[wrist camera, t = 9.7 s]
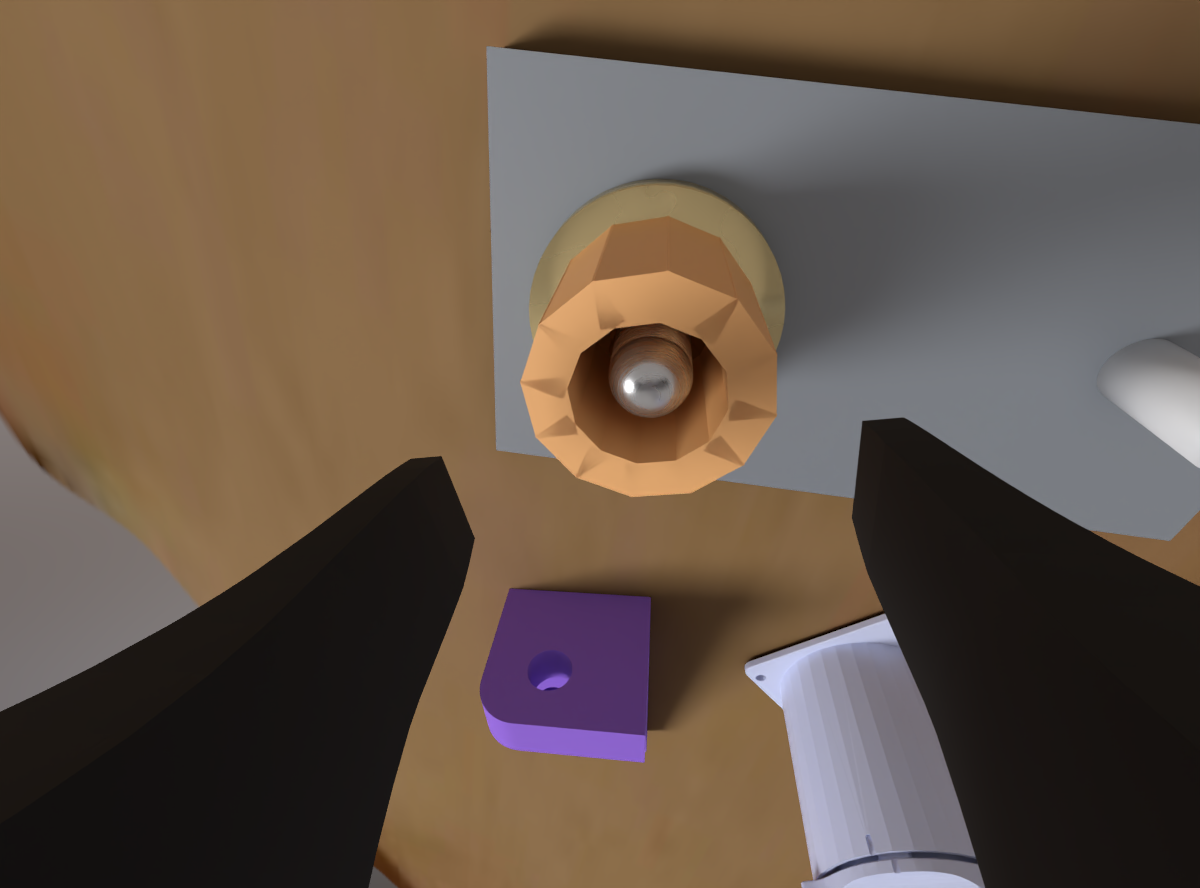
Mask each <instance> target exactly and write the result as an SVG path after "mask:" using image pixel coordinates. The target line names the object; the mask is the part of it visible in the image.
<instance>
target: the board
mask: <svg viewBox="0 0 1200 888" xmlns="http://www.w3.org/2000/svg"><path fill="white" fill-rule="evenodd" d="M487 85H488V126H489V168H490V209H491V250H492V291H493V332H494V373H495V414H496V450H499V451H507V452H514V453H521V454H529V455H536V456H544V457H551V458H556V457H555V456H554V455H553V454H552V453H551V452H550V451H549V450H548V449H547V448H546V447H545V446H544V445H543V444H542V443H541V442H540V441H539V440H538V439H537V438H536V437H535V433H534V429H533V426H532V422H531V419H530V415H529V412H528V408H527V405H526V401H525V398H524V394H523V390H522V387H521V384H520V380H521V378H522V376H523V372H524V369H525V366H526V363H527V360H528V357H529V354H530V351H531V347H532V344H533V338H532V333H531V327H530V319H529V300H530V291H531V286H532V282H533V277H534V274H535V271H536V269H537V266H538V263H539V261H540V259H541V257H542V255H543V253H544V251H545V249H546V248H547V246H548V244H549V243H550V241H551V240H552V238H553V237H554V235H555V234H556V233H557V231H558V230H559V229H560V227H561V226H562V224H563V223H564V222H565V221H566V220H567V219H568V218H569V217H570V216H571V215H572V214H573V213H574V212H575V211H576V210H577V209H578V208H580V207H581V206H582V205H583V204H585V203H586V202H587V201H589V200H590V199H592V198H593V197H595V196H597V195H599V194H600V193H602V192H604V191H606V190H609V189H611V188H614V187H616V186H619V185H621V184H625V183H629V182H633V181H638V180H646V179H656V178H657V179H676V180H681V181H686V182H691V183H695V184H698V185H700V186H703V187H706V188H709V189H711V190H713V191H715V192H717V193H719V194H721V195H722V196H724V197H726V198H727V199H729V200H730V201H731V202H733V203H734V204H736V205H737V206H738V207H739V208H740V209H741V210H743V211H744V212H745V213H746V214H747V215H748V216H749V217H750V218H751V219H752V221H753V222H754V223H755V225H756V226H757V227H758V229H759V230H760V231H761V233H762V235H763V236H764V238H765V240H766V242H767V244H768V246H769V247H770V249H771V251H772V253H773V255H774V257H775V259H776V262H777V264H778V267H779V270H780V273H781V276H782V281H783V286H784V293H785V317H784V325H783V330H782V334H781V338H780V341H779V344H778V347H777V349H776V352H777V355H778V356H777V417H776V418H775V419H774V421H773V422H772V424H771V425H770V427H769V428H768V430H767V431H766V433H765V434H764V436H763V437H762V439H761V440H760V442H759V443H758V444H757V446H756V447H755V449H754V450H753V452H752V453H751V455H750V456H749V458H748V459H747V461H746V462H745V465H743V466H741V467H739V468H737V469H735V470H733V471H732V472H730V473H728V474H726V475H724V476H722V477H720V478H718V479H717V480H722V481H729V482H737V483H744V484H752V485H759V486H766V487H774V488H781V489H789V490H796V491H804V492H811V493H818V494H826V495H833V496H841V497H848V498H854V494H855V485H856V475H857V466H858V456H859V447H860V438H861V428H862V421H866V420H878V419H890V418H902V417H904V418H906V419H908V420H910V421H911V422H913V423H915V424H916V425H918V426H919V427H921V428H923V429H924V430H926V431H927V432H929V433H930V434H932V435H933V436H935V437H937V438H938V439H940V440H941V441H943V442H944V443H946V444H947V445H949V446H950V447H952V448H953V449H955V450H956V451H958V452H960V453H961V454H963V455H964V456H966V457H967V458H969V459H970V460H972V461H973V462H975V463H976V464H978V465H980V466H981V467H983V468H984V469H986V470H987V471H989V472H991V473H992V474H994V475H995V476H997V477H999V478H1000V479H1002V480H1003V481H1005V482H1007V483H1008V484H1010V485H1011V486H1013V487H1015V488H1016V489H1018V490H1020V491H1021V492H1023V493H1024V494H1026V495H1028V496H1029V497H1031V498H1033V499H1034V500H1036V501H1038V502H1040V503H1041V504H1043V505H1045V506H1046V507H1048V508H1050V509H1051V510H1053V511H1055V512H1057V513H1058V514H1060V515H1062V516H1064V517H1066V518H1067V519H1069V520H1071V521H1073V522H1075V523H1076V524H1078V525H1080V526H1082V527H1084V528H1085V529H1087V530H1093V531H1101V532H1108V533H1115V534H1123V535H1130V536H1138V537H1145V538H1153V539H1160V540H1167V541H1170V540H1171V539H1172V538H1173V537H1174V536H1175V535H1176V534H1177V533H1178V532H1179V531H1180V530H1181V529H1182V528H1183V527H1184V526H1185V525H1186V524H1187V523H1188V522H1189V521H1190V520H1191V519H1192V518H1193V517H1194V515H1195V514H1196V513H1197V512H1198V511H1199V510H1200V124H1194V123H1185V122H1176V121H1167V120H1158V119H1148V118H1139V117H1130V116H1121V115H1112V114H1103V113H1094V112H1085V111H1075V110H1066V109H1057V108H1048V107H1039V106H1030V105H1021V104H1012V103H1002V102H993V101H984V100H975V99H966V98H957V97H948V96H939V95H929V94H920V93H911V92H902V91H893V90H884V89H875V88H866V87H856V86H847V85H838V84H829V83H820V82H811V81H802V80H793V79H783V78H774V77H765V76H756V75H747V74H738V73H729V72H720V71H710V70H701V69H692V68H683V67H674V66H665V65H656V64H647V63H637V62H628V61H619V60H610V59H601V58H592V57H583V56H574V55H564V54H555V53H546V52H537V51H528V50H519V49H510V48H500V47H489V46H487Z"/></svg>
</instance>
